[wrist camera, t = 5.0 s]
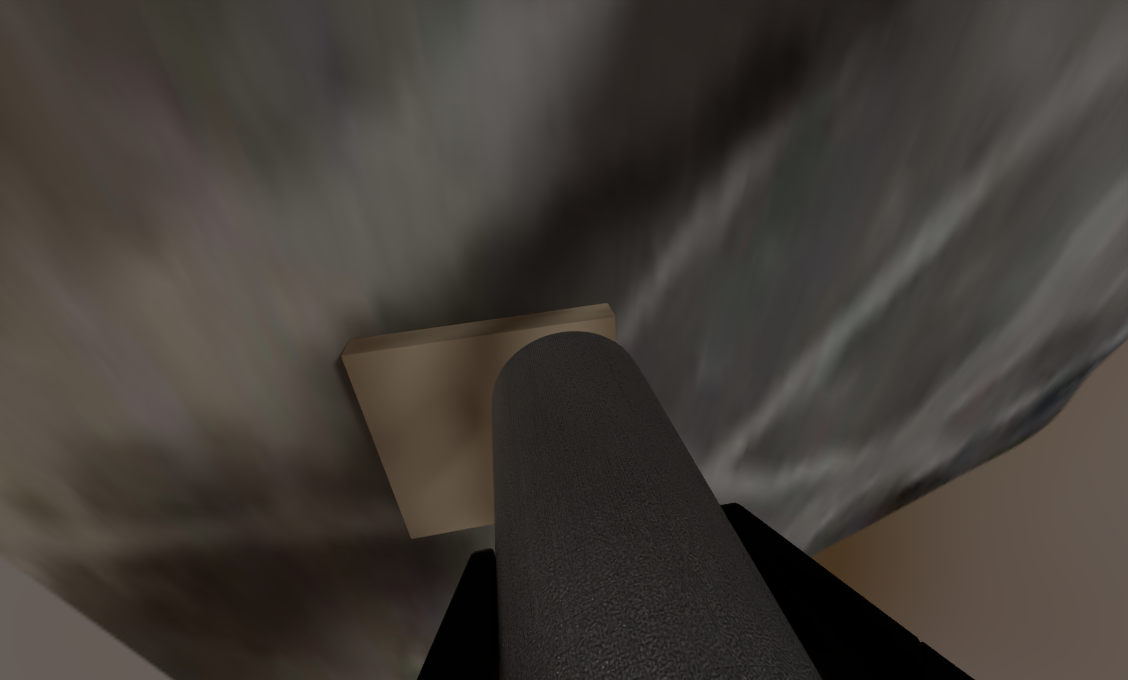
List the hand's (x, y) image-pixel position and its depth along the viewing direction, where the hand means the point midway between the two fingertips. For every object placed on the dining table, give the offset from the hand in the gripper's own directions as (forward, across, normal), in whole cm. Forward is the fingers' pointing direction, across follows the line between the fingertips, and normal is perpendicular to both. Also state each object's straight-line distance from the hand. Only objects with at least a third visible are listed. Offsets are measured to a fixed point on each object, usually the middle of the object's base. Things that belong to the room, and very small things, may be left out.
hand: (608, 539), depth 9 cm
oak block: (+14, +3, +7) cm, 16 cm away
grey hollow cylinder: (+5, 0, 0) cm, 5 cm away
